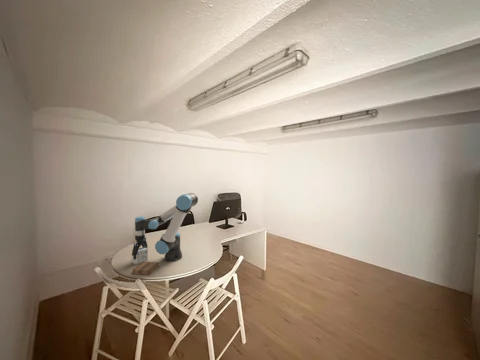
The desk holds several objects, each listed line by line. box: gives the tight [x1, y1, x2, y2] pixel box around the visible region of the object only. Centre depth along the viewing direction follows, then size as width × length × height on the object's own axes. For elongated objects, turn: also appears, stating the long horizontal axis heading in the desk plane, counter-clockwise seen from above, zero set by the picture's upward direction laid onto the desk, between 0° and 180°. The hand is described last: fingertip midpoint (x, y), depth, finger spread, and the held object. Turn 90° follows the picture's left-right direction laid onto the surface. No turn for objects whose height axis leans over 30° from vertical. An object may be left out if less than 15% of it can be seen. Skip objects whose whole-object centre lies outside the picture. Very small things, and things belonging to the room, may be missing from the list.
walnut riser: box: [131, 261, 160, 276], centre depth 157 cm, size 14×14×3 cm
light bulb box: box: [131, 246, 149, 266], centre depth 170 cm, size 11×7×11 cm, turn 141°
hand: (140, 259), depth 170 cm, fingers closed on light bulb box, 12 cm apart
